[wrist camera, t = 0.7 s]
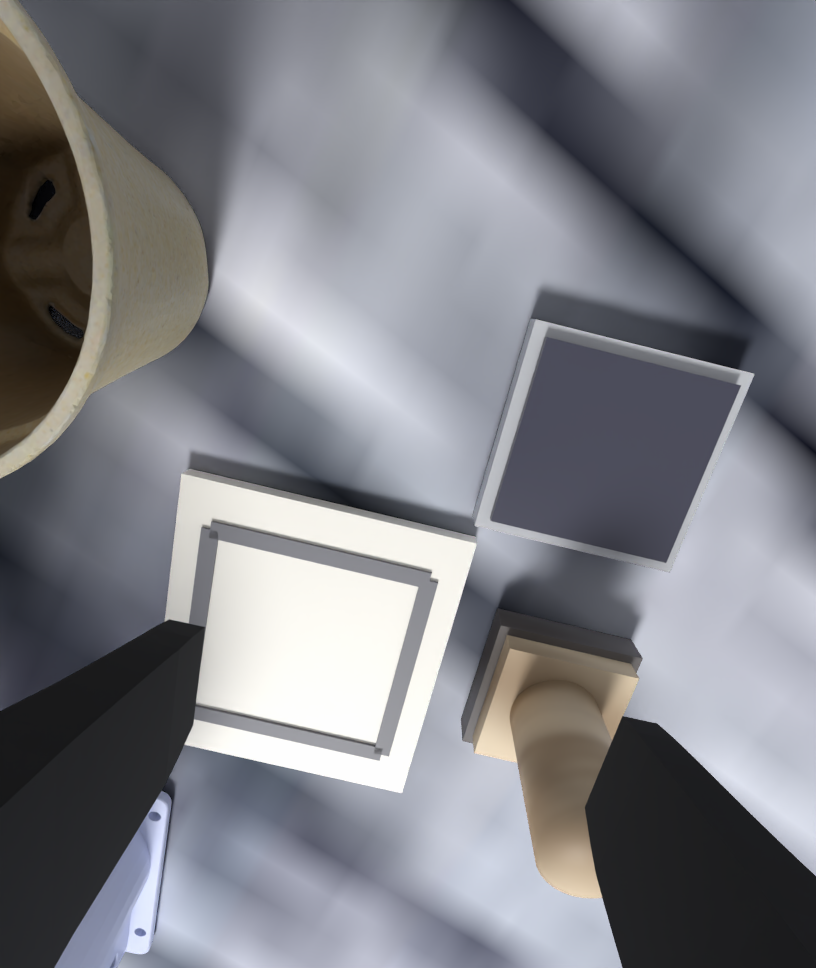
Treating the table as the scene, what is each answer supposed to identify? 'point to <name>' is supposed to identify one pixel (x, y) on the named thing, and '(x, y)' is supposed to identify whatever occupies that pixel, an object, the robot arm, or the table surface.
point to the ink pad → (606, 445)
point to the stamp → (552, 728)
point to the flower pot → (79, 249)
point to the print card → (312, 626)
